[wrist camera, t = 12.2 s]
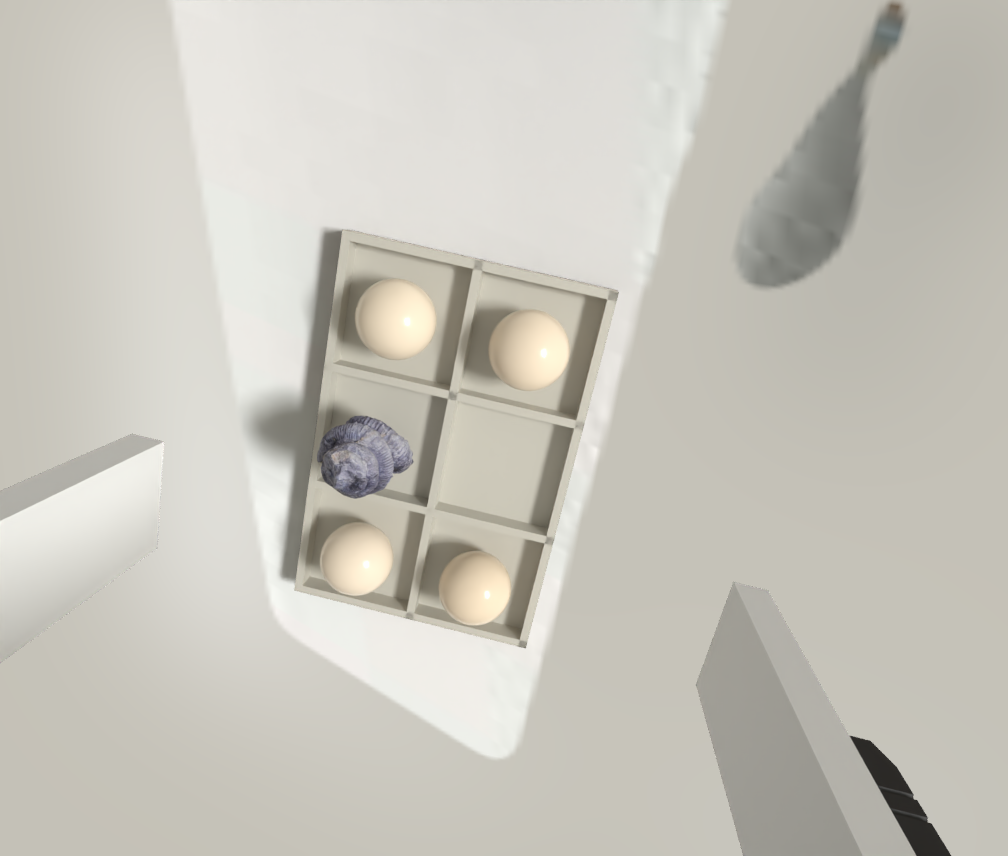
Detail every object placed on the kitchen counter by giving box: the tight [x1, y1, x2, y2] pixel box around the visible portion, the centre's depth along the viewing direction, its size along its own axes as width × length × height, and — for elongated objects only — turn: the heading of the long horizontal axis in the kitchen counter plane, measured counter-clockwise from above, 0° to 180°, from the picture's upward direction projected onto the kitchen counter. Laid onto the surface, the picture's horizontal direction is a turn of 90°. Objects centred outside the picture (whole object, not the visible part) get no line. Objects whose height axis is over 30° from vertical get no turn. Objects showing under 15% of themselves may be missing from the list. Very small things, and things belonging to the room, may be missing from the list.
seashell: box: [317, 415, 413, 499], centre depth 43 cm, size 5×5×10 cm
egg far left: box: [320, 522, 394, 596], centre depth 48 cm, size 5×5×5 cm
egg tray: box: [294, 230, 619, 648], centre depth 48 cm, size 28×19×2 cm
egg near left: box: [355, 278, 437, 360], centre depth 43 cm, size 5×5×5 cm
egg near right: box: [488, 309, 570, 391], centre depth 43 cm, size 5×5×5 cm
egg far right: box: [439, 551, 511, 626], centre depth 48 cm, size 5×5×5 cm
